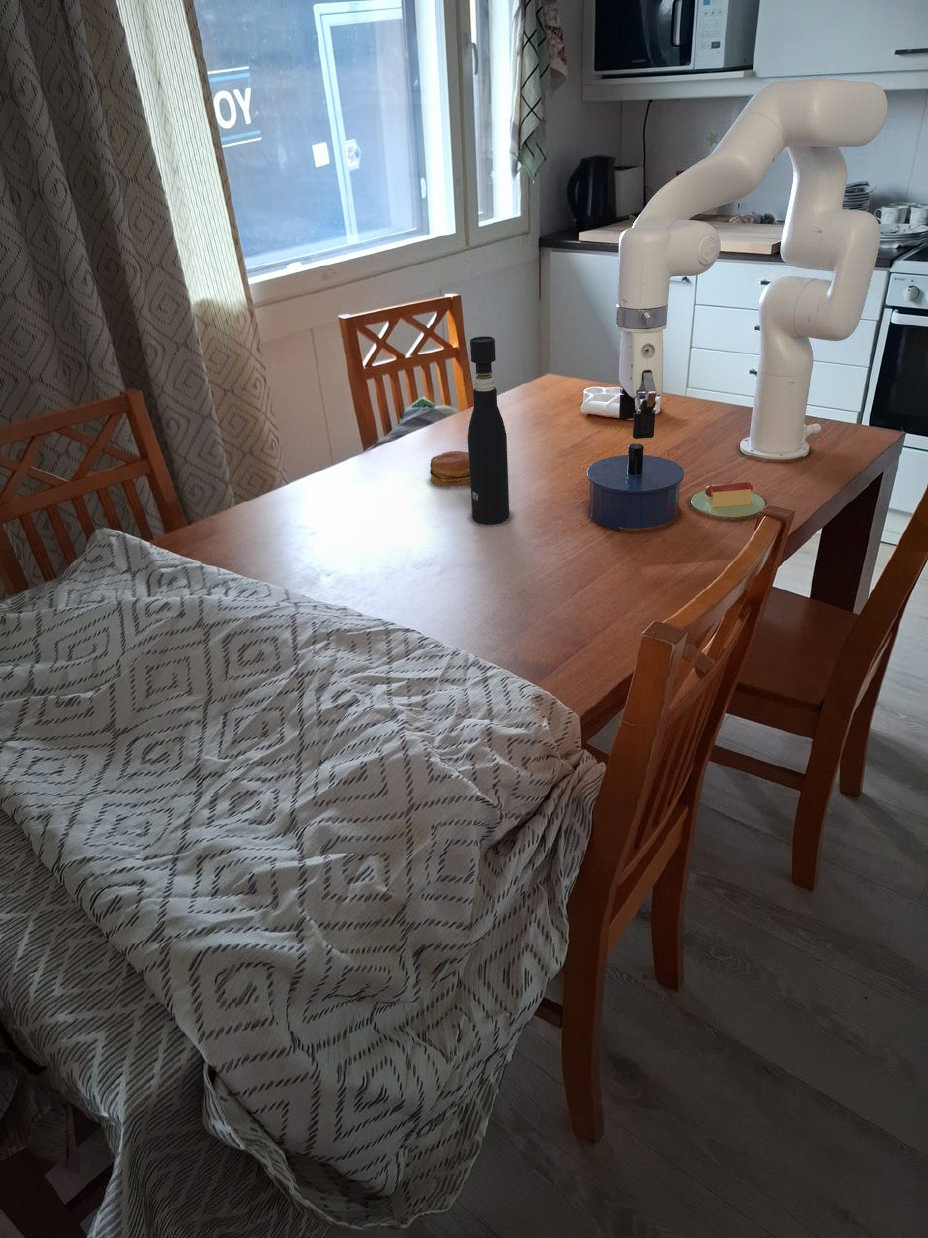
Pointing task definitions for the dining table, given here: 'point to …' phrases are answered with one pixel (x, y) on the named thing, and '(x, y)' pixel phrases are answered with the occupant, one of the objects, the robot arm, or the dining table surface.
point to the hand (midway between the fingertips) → (635, 427)
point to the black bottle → (487, 441)
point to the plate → (728, 511)
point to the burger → (450, 469)
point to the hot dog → (729, 494)
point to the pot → (633, 508)
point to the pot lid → (635, 472)
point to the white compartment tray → (606, 401)
